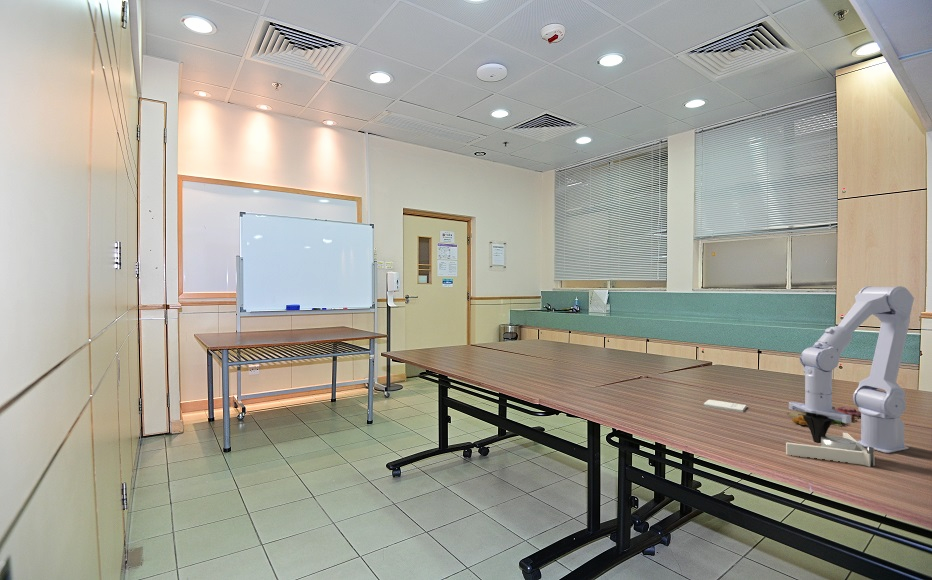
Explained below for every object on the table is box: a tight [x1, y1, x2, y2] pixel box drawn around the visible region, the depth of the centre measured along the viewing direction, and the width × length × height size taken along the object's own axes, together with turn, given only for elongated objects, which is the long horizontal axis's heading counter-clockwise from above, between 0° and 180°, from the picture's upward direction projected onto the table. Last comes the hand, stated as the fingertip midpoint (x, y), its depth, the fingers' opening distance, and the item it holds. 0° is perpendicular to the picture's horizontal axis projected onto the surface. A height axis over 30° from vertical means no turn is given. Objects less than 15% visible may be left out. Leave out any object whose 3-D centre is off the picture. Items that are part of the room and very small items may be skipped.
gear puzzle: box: [786, 406, 861, 428], centre depth 149 cm, size 31×16×4 cm, turn 122°
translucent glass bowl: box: [820, 435, 856, 451], centre depth 116 cm, size 7×7×4 cm
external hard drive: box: [703, 399, 748, 413], centre depth 163 cm, size 2×8×12 cm
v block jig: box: [785, 432, 875, 468], centre depth 115 cm, size 24×13×4 cm, turn 109°
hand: (818, 442), depth 120 cm, fingers closed
